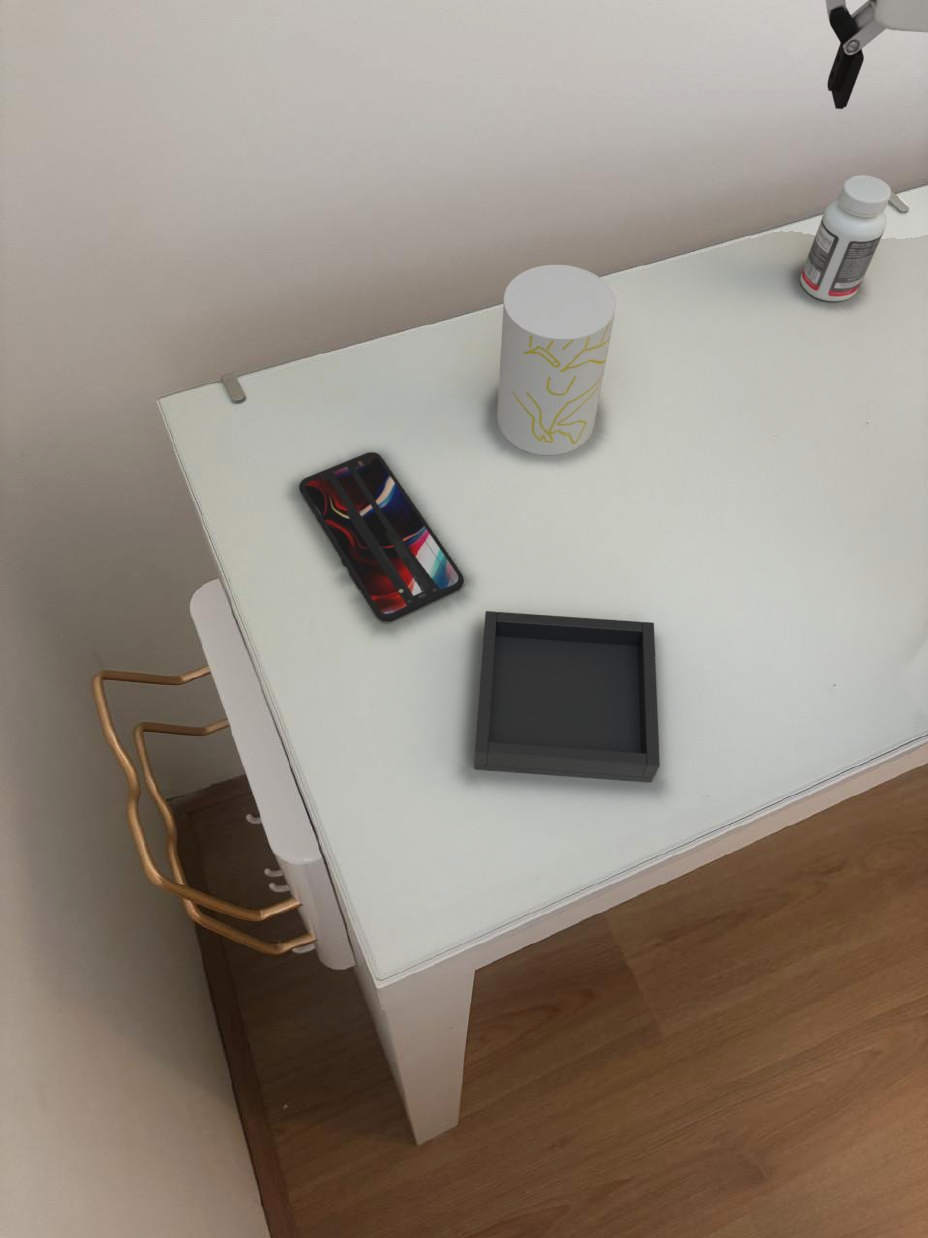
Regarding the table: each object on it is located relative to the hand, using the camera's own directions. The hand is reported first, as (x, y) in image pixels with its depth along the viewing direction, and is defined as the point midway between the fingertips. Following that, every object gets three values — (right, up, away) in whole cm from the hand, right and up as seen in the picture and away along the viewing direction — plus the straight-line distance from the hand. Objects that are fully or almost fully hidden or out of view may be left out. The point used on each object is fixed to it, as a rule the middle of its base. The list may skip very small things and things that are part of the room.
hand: (899, 102), depth 72 cm
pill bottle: (0, -9, +15) cm, 17 cm away
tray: (-27, -46, -9) cm, 54 cm away
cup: (-27, -24, +5) cm, 37 cm away
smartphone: (-41, -34, -2) cm, 53 cm away
